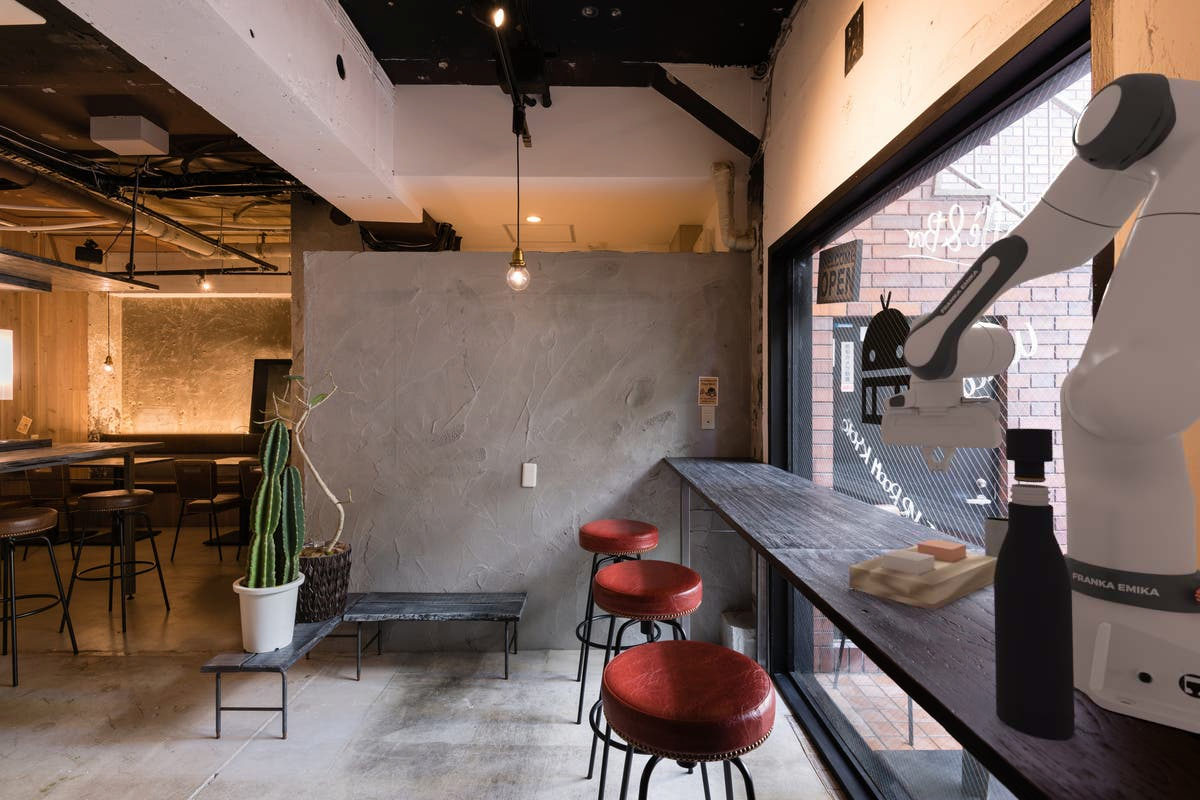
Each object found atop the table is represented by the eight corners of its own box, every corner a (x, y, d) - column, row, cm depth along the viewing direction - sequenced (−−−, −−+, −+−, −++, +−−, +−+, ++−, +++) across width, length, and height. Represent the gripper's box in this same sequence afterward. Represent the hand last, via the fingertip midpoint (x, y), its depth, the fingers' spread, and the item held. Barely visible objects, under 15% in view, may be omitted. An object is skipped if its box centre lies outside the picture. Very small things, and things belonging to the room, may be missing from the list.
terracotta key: (966, 566, 108) (965, 544, 108) (952, 571, 105) (951, 549, 105) (932, 559, 113) (932, 539, 113) (917, 564, 109) (917, 543, 109)
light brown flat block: (999, 579, 107) (998, 557, 107) (933, 610, 91) (932, 585, 91) (920, 563, 118) (920, 544, 119) (849, 588, 102) (849, 566, 102)
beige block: (934, 578, 100) (934, 555, 100) (918, 585, 97) (917, 561, 97) (899, 571, 105) (899, 549, 105) (883, 577, 102) (882, 554, 102)
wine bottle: (1065, 748, 54) (1059, 430, 55) (987, 720, 59) (981, 429, 60) (1082, 724, 58) (1075, 428, 59) (1007, 699, 63) (1002, 427, 64)
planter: (979, 569, 114) (978, 517, 114) (996, 567, 115) (995, 515, 115) (1001, 575, 110) (1000, 521, 110) (1019, 573, 111) (1018, 520, 111)
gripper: (1006, 395, 103) (1009, 473, 103) (891, 399, 119) (893, 466, 119) (992, 395, 99) (996, 476, 99) (876, 399, 115) (878, 468, 115)
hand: (939, 471), depth 109 cm, fingers closed
